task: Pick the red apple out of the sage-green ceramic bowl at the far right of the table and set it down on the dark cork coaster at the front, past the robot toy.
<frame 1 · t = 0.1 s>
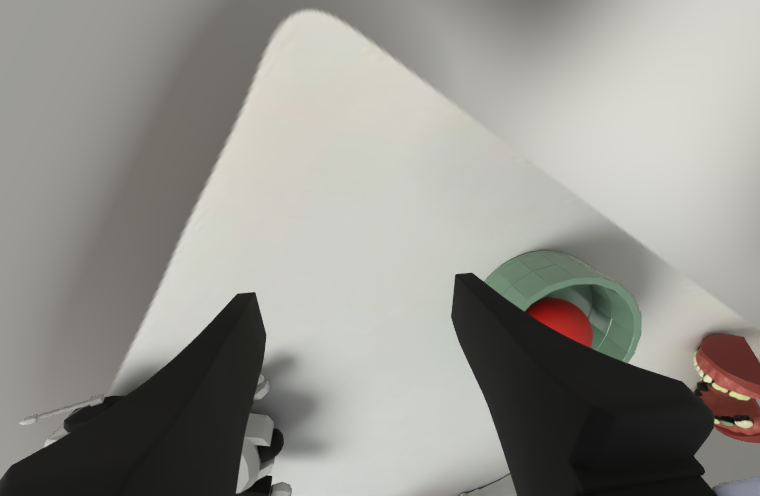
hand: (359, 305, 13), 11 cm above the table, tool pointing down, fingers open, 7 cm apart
robot toy: (190, 433, 27), on the table
apple: (535, 313, 26), resting on bowl
bowl: (532, 310, 27), on the table
dentures model: (721, 346, 27), point 2 cm above the table
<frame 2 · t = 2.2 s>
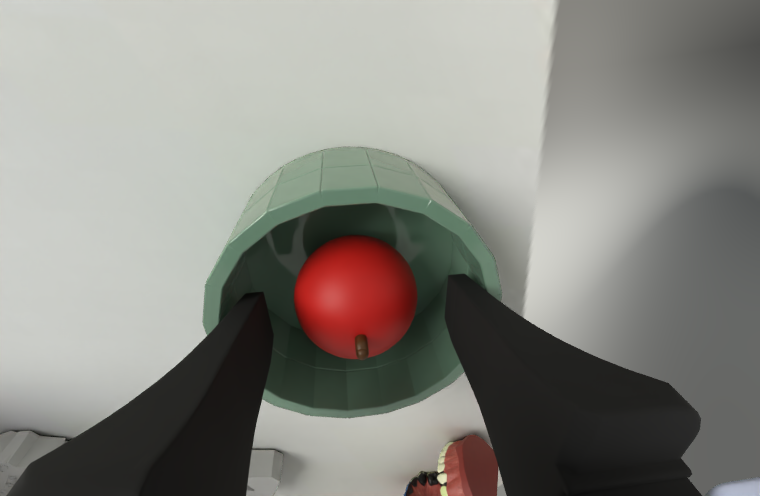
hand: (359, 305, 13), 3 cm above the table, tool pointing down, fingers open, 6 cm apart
apple: (353, 263, 15), resting on bowl
bowl: (352, 257, 16), on the table
dentures model: (481, 454, 21), point 2 cm above the table
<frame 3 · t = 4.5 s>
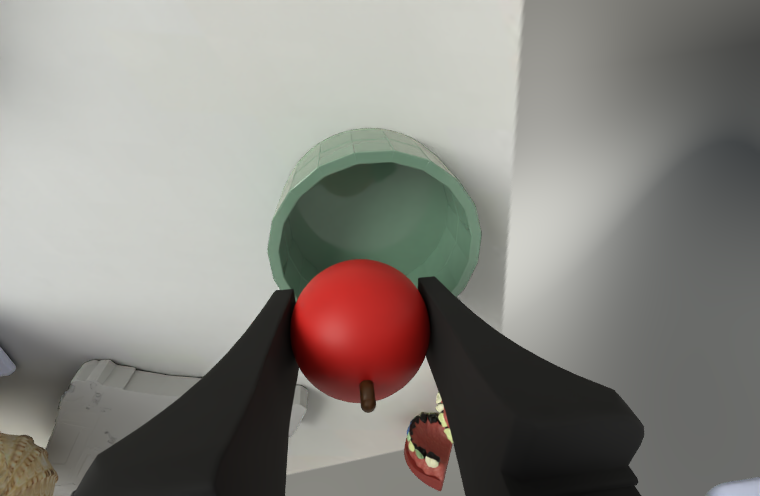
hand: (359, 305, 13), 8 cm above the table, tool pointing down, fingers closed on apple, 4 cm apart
apple: (356, 286, 14), point 7 cm above the table, touching gripper
bowl: (369, 216, 20), on the table
dentures model: (472, 389, 26), point 2 cm above the table
toy gun: (239, 494, 31), point 1 cm above the table, touching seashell
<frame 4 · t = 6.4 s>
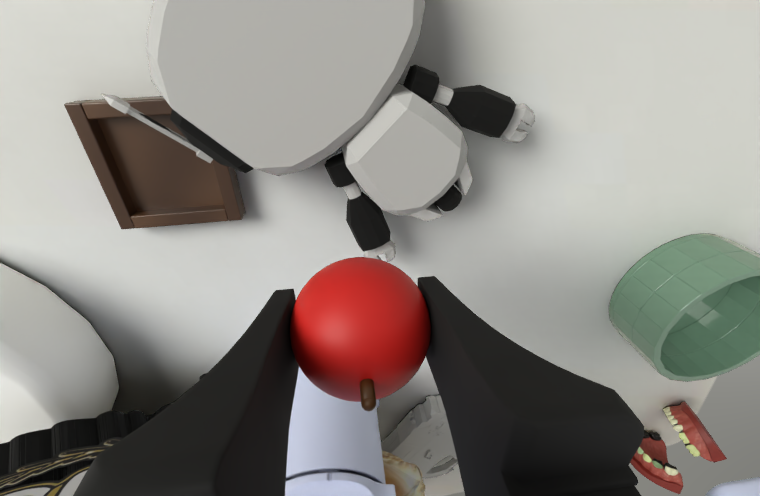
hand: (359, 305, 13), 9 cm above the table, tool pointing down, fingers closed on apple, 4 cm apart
robot toy: (349, 94, 18), on the table
apple: (356, 285, 14), point 8 cm above the table, touching gripper
bowl: (671, 289, 27), on the table
dentures model: (701, 412, 33), point 2 cm above the table
coaster: (170, 162, 18), on the table
emblem: (227, 432, 28), point 1 cm above the table, touching container
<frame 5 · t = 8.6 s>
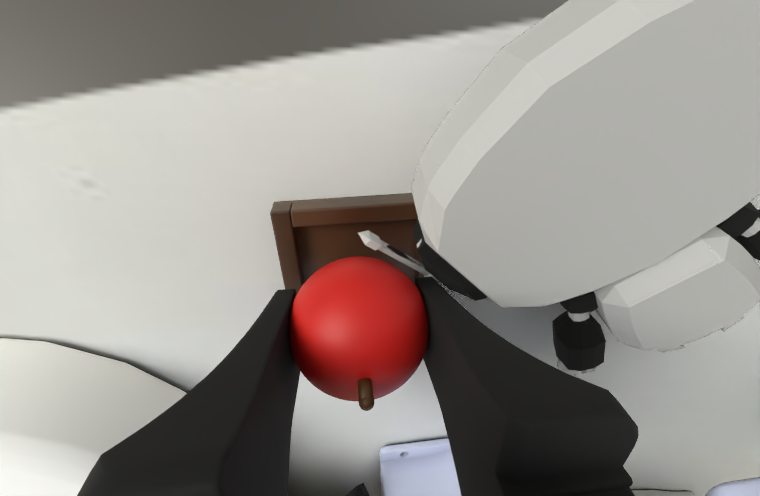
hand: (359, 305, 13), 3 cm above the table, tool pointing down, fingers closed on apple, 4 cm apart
container: (53, 466, 19), on the table, touching emblem
robot toy: (587, 193, 14), on the table, touching coaster, gripper
apple: (355, 284, 14), point 2 cm above the table, touching gripper
coaster: (359, 263, 15), on the table
when the fingers open (3 cm above the table, at t = 10.0 s): apple drops 1 cm, resting on coaster.
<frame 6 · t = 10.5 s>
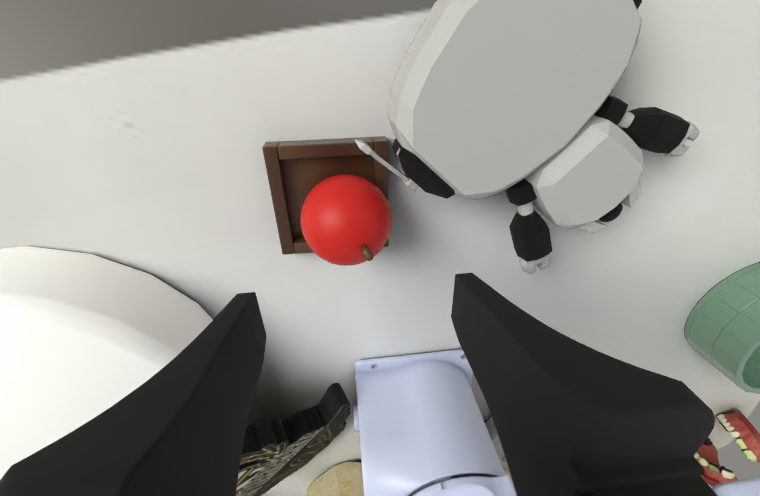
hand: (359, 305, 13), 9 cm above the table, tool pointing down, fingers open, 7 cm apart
container: (89, 369, 24), on the table, touching emblem
robot toy: (517, 119, 19), on the table
food model: (353, 472, 35), on the table
apple: (332, 197, 19), resting on coaster, tilted 21°
bowl: (743, 308, 29), on the table
dentures model: (756, 420, 35), point 2 cm above the table
coaster: (331, 194, 20), on the table
emblem: (325, 436, 30), point 1 cm above the table, touching container
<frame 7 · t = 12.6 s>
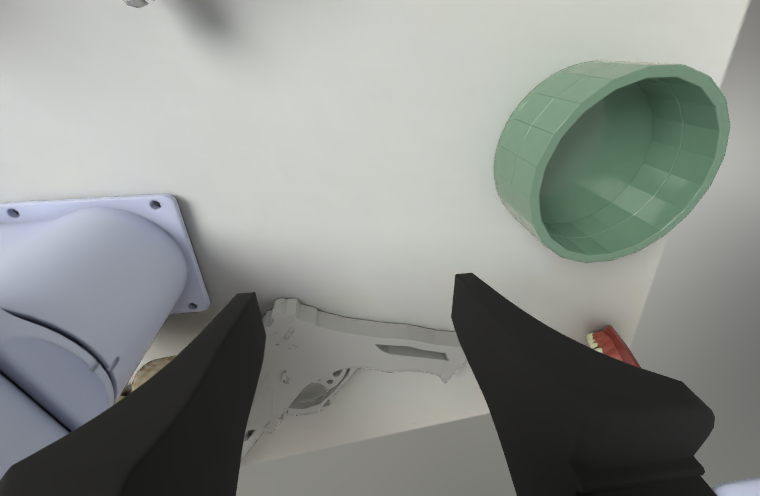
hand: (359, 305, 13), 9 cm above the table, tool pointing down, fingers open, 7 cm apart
bowl: (572, 153, 21), on the table
dentures model: (627, 334, 27), point 2 cm above the table
toy gun: (372, 446, 32), point 1 cm above the table, touching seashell
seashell: (153, 441, 19), point 7 cm above the table, touching arm, toy gun
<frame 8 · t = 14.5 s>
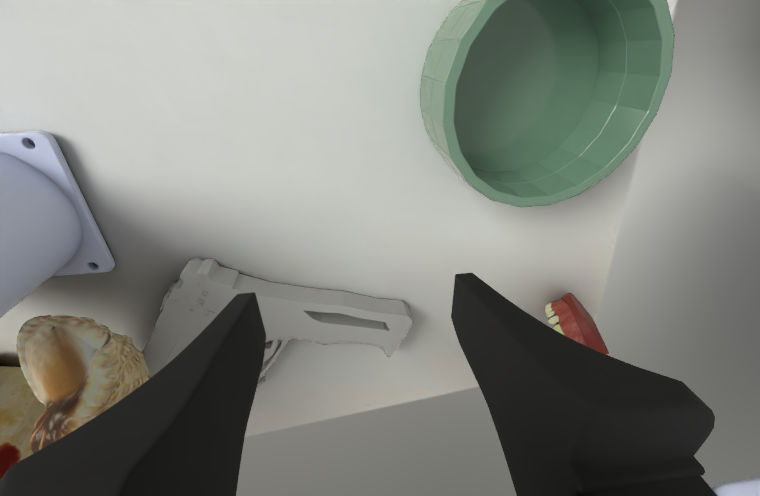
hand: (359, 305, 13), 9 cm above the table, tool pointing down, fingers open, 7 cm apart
food model: (12, 377, 25), on the table
bowl: (510, 87, 19), on the table
dentures model: (586, 301, 24), point 2 cm above the table
toy gun: (320, 428, 30), point 1 cm above the table, touching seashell
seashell: (29, 410, 17), point 7 cm above the table, touching arm, toy gun
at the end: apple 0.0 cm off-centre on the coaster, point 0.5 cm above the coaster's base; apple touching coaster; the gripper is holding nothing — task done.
